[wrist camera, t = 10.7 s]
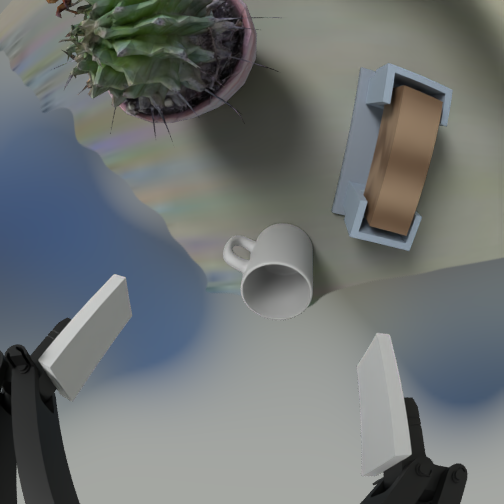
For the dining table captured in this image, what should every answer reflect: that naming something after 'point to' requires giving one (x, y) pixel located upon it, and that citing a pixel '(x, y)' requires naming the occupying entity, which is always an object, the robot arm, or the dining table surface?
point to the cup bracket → (363, 146)
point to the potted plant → (163, 54)
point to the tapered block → (401, 159)
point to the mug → (275, 271)
